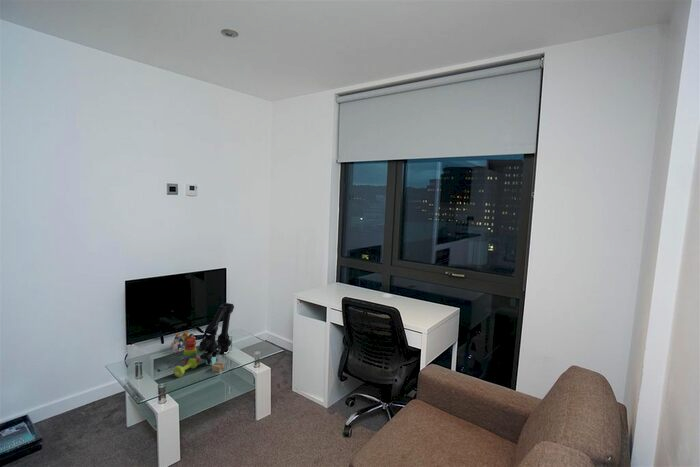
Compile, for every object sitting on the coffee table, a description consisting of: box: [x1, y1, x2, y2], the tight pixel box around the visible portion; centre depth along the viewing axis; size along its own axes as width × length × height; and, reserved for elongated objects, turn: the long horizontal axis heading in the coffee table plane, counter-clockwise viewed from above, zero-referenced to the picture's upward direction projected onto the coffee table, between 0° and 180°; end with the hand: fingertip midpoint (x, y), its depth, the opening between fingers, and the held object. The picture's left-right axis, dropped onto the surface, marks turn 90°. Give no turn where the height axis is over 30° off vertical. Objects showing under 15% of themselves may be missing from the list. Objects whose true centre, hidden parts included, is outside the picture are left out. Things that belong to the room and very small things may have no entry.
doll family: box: [170, 331, 196, 355], centre depth 281 cm, size 21×10×13 cm, turn 150°
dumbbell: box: [173, 358, 199, 378], centre depth 249 cm, size 16×8×7 cm, turn 160°
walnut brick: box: [211, 361, 225, 373], centre depth 253 cm, size 6×6×4 cm
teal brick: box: [205, 356, 217, 366], centre depth 262 cm, size 5×5×4 cm
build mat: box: [207, 368, 223, 375], centre depth 254 cm, size 10×10×1 cm
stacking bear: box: [183, 337, 201, 365], centre depth 263 cm, size 11×10×18 cm
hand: (210, 362), depth 262 cm, fingers closed on teal brick, 5 cm apart
